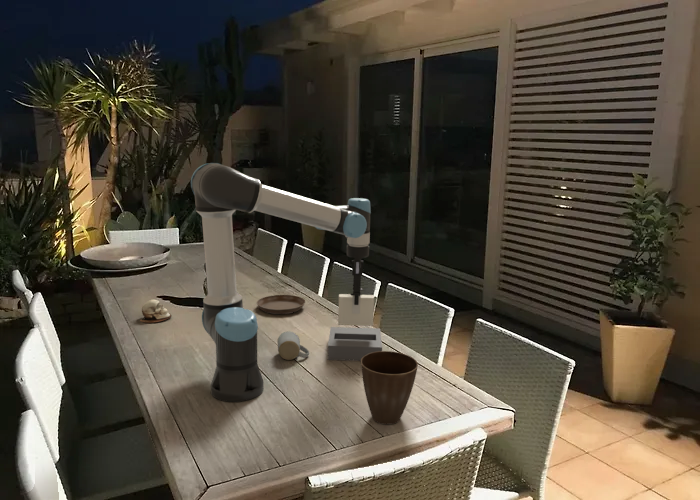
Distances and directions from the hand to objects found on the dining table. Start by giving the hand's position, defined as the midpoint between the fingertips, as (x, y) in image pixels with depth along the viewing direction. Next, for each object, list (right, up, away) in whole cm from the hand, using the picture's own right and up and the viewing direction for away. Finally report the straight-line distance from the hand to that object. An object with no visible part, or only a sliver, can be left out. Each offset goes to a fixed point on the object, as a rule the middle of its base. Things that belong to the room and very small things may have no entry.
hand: (356, 311), depth 190 cm
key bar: (0, -5, +1) cm, 5 cm away
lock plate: (0, -14, +3) cm, 14 cm away
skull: (-80, -7, +30) cm, 85 cm away
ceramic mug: (-21, -15, -3) cm, 26 cm away
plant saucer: (-32, -4, +46) cm, 56 cm away
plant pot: (+8, -24, -42) cm, 49 cm away
